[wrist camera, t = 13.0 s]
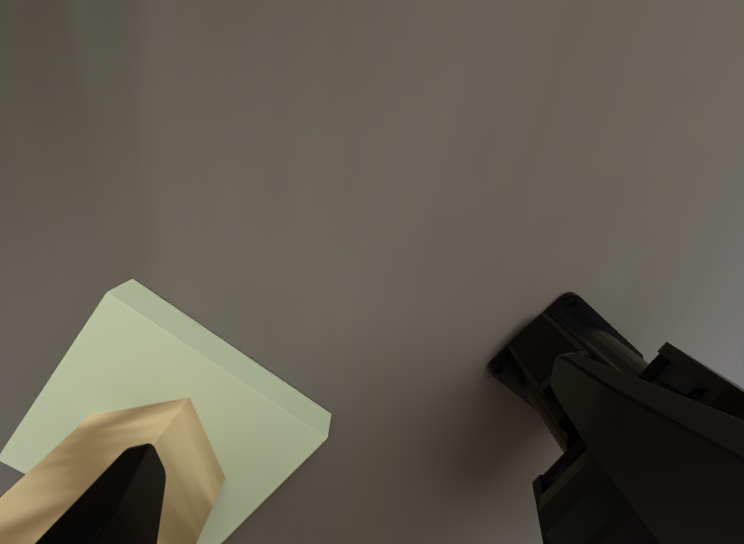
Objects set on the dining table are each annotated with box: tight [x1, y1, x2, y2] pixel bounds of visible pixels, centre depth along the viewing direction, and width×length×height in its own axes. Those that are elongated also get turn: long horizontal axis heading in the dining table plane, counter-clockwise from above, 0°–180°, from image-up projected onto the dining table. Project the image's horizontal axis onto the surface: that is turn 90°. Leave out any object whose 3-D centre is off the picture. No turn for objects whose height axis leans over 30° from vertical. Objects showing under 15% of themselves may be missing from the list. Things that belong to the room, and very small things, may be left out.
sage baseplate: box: [0, 279, 331, 544], centre depth 22 cm, size 14×14×2 cm
